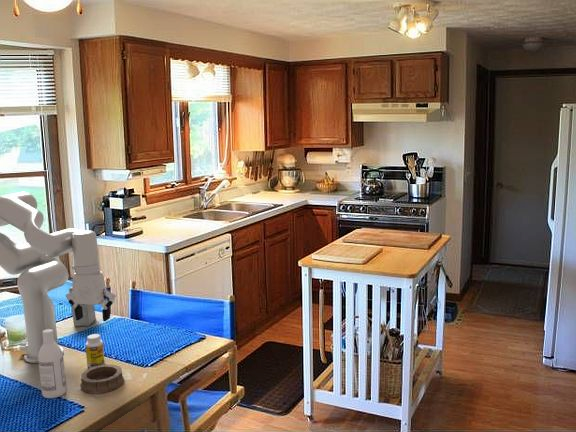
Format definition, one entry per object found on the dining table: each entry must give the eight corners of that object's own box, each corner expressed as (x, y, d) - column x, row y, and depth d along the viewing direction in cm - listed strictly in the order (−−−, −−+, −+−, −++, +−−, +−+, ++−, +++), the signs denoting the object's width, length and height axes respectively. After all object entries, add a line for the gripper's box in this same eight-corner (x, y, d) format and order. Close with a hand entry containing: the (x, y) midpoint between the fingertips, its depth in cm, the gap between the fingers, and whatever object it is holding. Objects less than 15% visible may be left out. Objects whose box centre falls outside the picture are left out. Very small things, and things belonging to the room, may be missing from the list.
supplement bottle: (89, 370, 190) (87, 340, 188) (85, 364, 194) (82, 335, 192) (107, 365, 193) (104, 336, 191) (102, 360, 197) (99, 331, 195)
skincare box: (89, 326, 228) (86, 287, 225) (71, 326, 228) (67, 288, 225) (96, 318, 236) (93, 281, 233) (79, 318, 236) (75, 281, 233)
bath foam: (59, 385, 180) (52, 324, 176) (71, 392, 175) (64, 329, 171) (37, 394, 174) (30, 331, 171) (49, 401, 170) (42, 337, 166)
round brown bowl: (71, 392, 175) (70, 381, 174) (94, 372, 188) (93, 362, 187) (111, 395, 173) (110, 384, 172) (131, 375, 185) (130, 365, 184)
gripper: (56, 271, 185) (62, 322, 188) (106, 272, 182) (111, 324, 185) (69, 265, 192) (75, 314, 196) (117, 266, 189) (122, 316, 192)
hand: (93, 319), depth 190 cm, fingers open, 9 cm apart
